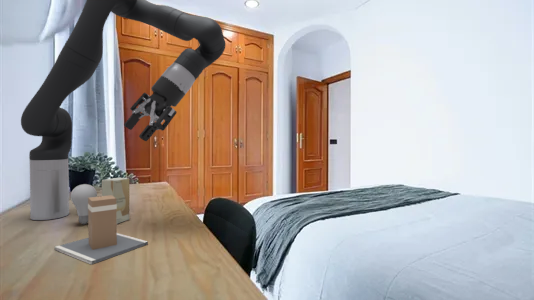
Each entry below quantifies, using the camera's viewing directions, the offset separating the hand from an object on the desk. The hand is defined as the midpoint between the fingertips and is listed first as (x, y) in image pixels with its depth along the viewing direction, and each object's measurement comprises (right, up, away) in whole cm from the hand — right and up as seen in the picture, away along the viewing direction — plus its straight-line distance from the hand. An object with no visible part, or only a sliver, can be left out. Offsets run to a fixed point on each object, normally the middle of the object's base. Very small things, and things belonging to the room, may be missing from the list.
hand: (134, 133), depth 72 cm
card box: (-2, -24, -11) cm, 27 cm away
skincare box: (-9, -25, +8) cm, 28 cm away
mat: (-2, -25, -11) cm, 27 cm away
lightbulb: (-16, -25, +6) cm, 30 cm away
